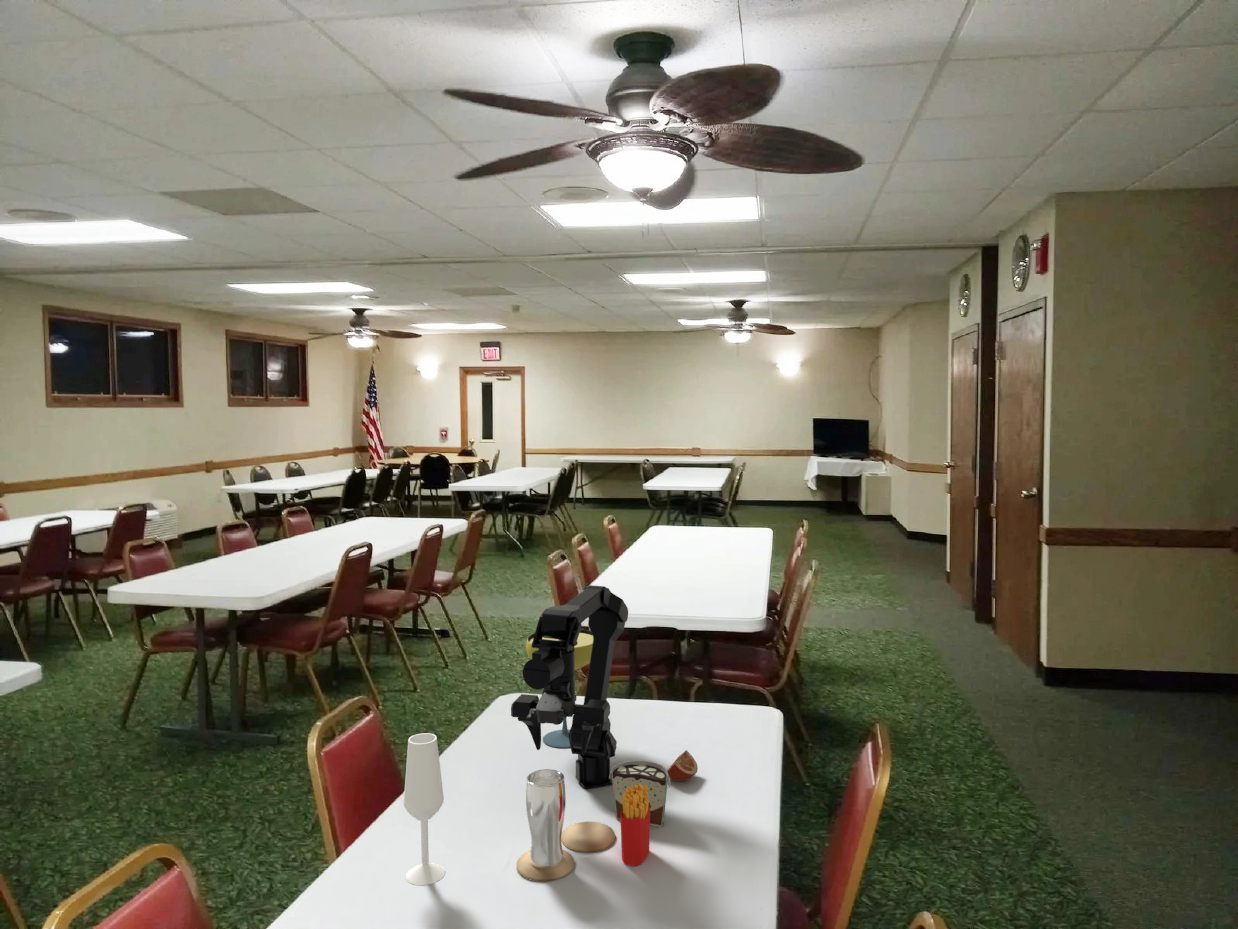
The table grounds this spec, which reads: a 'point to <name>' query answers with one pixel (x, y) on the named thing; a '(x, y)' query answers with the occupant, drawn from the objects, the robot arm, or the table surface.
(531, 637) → the cocktail glass
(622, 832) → the french fries
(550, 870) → the coaster
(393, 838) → the table surface
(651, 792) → the food container
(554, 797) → the beer glass
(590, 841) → the coaster
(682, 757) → the fruit slice
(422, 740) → the champagne flute
